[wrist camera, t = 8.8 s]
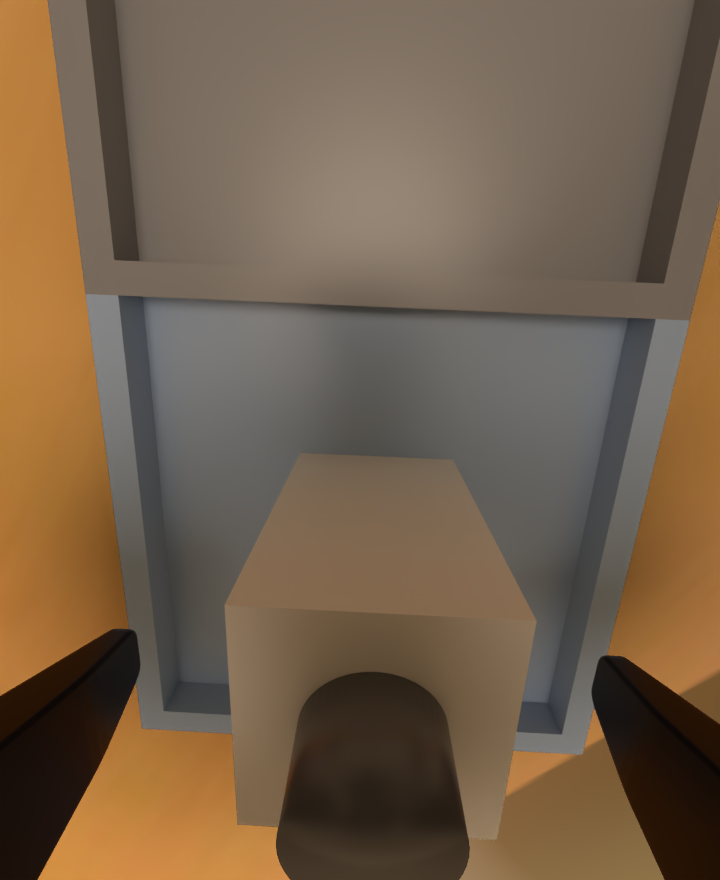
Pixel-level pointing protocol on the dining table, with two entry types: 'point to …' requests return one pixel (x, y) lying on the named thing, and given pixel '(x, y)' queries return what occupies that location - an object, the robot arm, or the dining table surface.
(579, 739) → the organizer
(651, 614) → the dining table surface
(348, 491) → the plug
